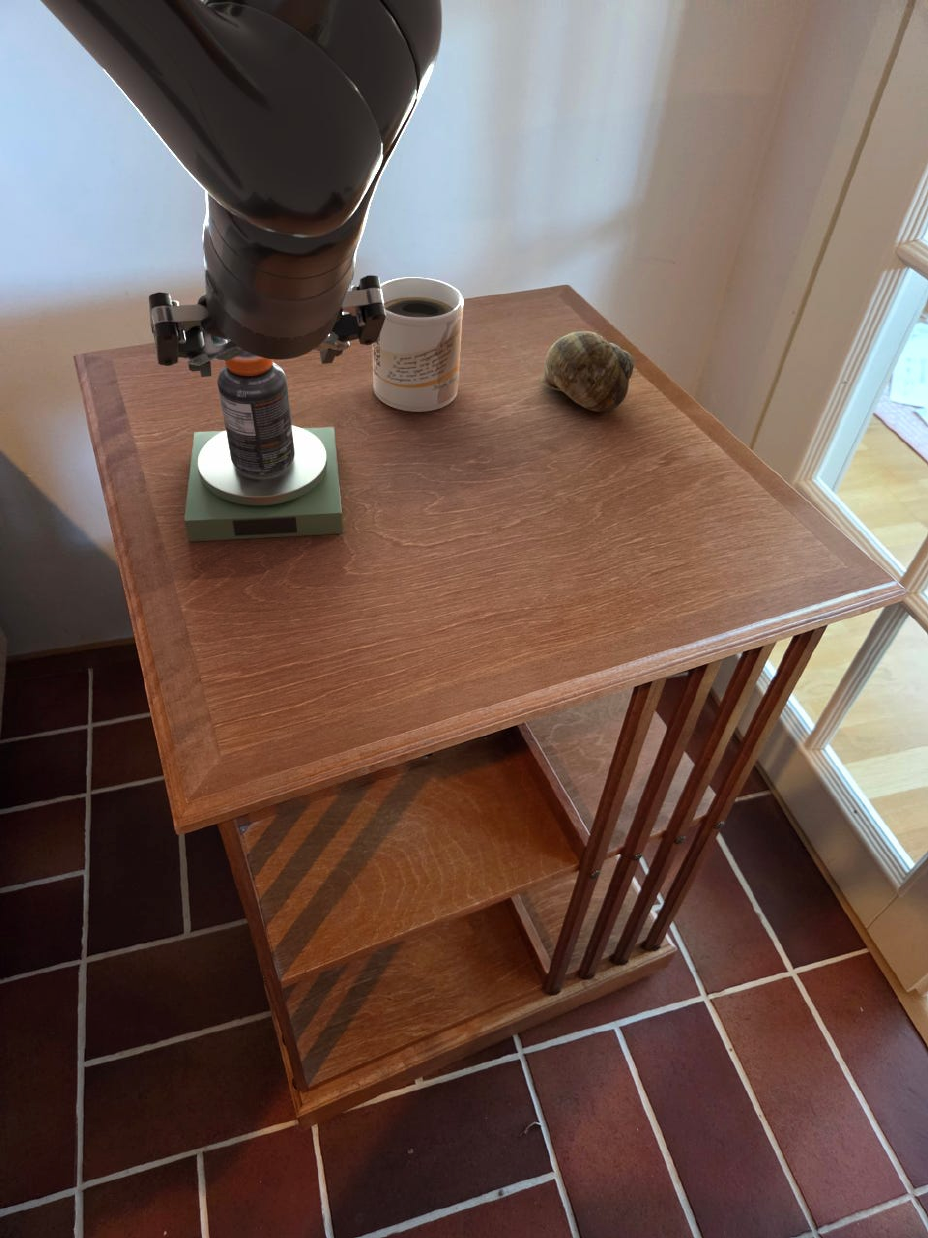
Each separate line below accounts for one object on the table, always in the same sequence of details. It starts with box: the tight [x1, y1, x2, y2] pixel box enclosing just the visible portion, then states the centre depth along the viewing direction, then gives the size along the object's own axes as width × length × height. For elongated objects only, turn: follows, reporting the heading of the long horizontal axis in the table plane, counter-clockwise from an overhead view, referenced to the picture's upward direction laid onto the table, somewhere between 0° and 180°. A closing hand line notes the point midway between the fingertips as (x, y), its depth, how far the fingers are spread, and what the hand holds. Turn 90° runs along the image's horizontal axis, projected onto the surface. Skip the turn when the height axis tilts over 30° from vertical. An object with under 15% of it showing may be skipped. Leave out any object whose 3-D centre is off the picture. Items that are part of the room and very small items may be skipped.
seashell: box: [540, 330, 636, 412], centre depth 94 cm, size 11×9×8 cm
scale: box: [183, 425, 344, 543], centre depth 80 cm, size 14×14×4 cm
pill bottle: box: [216, 352, 295, 475], centre depth 75 cm, size 6×6×11 cm
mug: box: [371, 277, 464, 413], centre depth 93 cm, size 10×12×11 cm
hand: (264, 356), depth 59 cm, fingers open, 8 cm apart
